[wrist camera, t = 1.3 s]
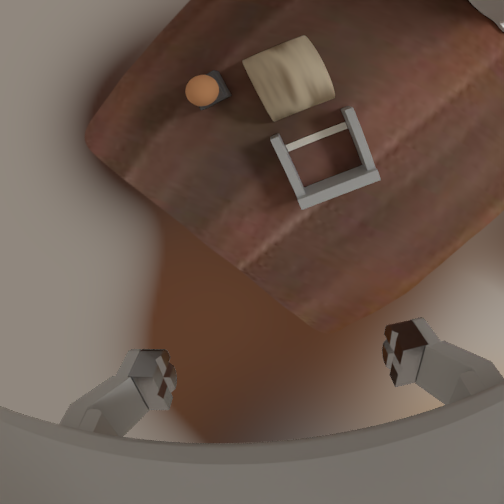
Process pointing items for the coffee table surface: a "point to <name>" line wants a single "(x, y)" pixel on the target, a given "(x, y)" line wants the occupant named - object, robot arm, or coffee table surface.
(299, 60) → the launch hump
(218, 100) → the cube with raised frame
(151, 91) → the coffee table surface
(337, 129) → the line
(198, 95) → the ball
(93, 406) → the robot arm
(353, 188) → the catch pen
